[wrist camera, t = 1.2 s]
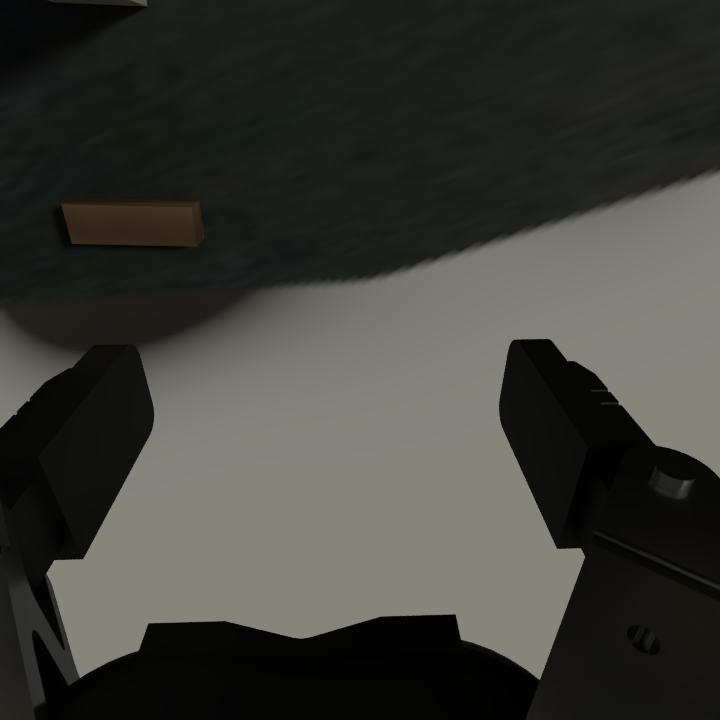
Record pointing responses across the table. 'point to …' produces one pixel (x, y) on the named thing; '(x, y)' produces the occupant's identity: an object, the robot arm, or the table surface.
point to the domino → (105, 2)
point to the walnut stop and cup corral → (134, 221)
